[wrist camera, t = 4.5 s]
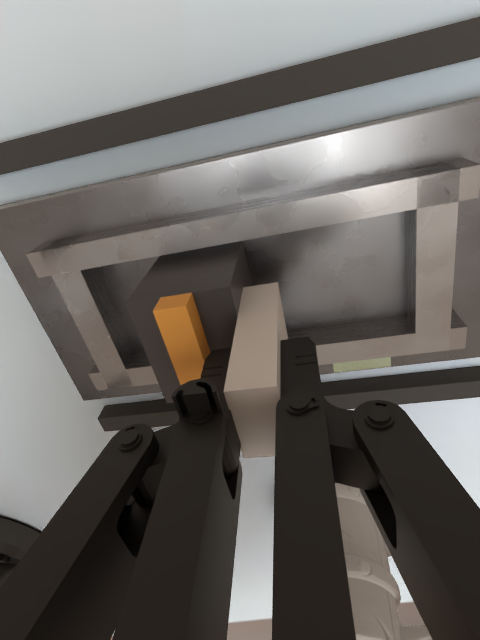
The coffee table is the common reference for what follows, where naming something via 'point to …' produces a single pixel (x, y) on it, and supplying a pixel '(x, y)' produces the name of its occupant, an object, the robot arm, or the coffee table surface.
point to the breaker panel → (274, 245)
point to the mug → (370, 573)
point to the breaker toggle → (188, 310)
